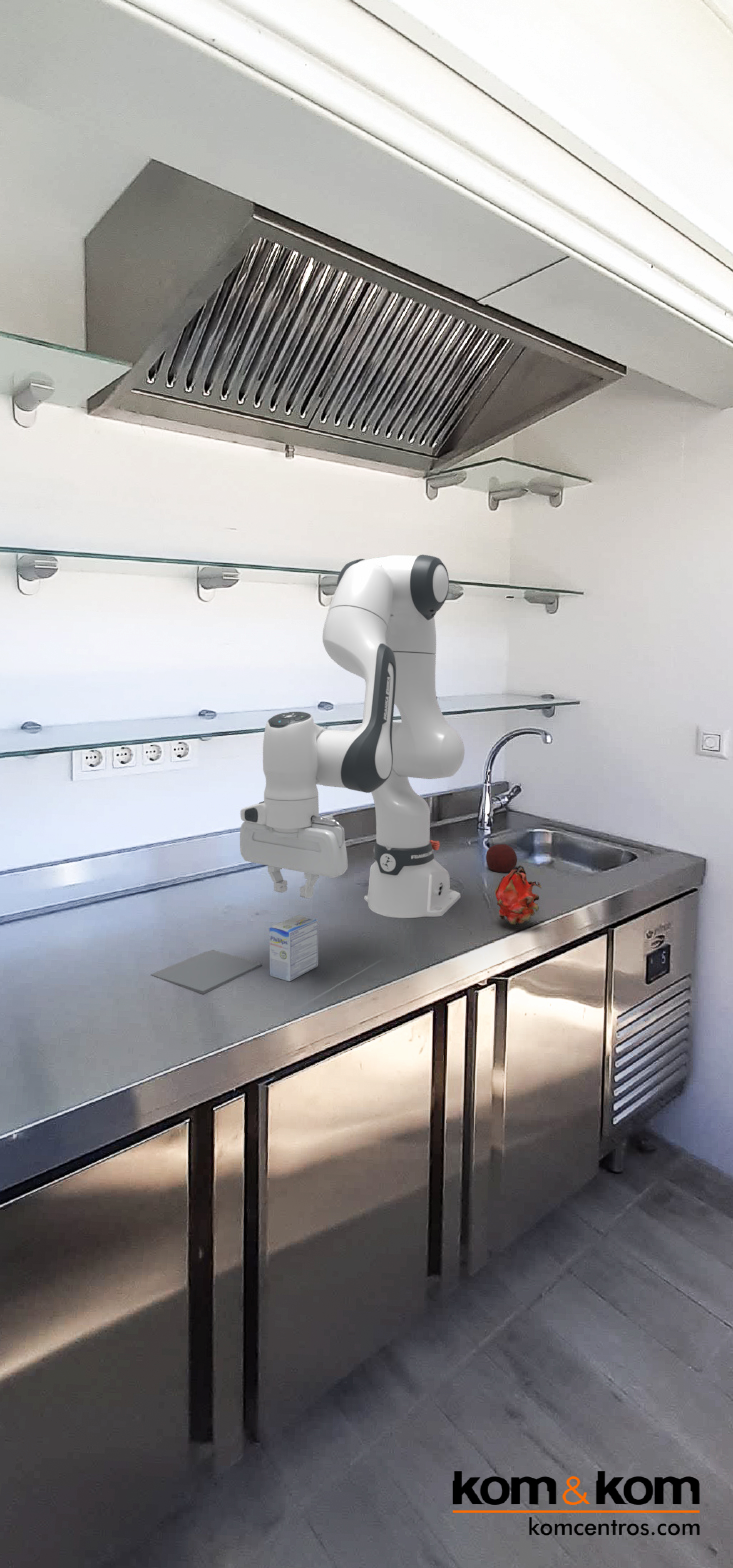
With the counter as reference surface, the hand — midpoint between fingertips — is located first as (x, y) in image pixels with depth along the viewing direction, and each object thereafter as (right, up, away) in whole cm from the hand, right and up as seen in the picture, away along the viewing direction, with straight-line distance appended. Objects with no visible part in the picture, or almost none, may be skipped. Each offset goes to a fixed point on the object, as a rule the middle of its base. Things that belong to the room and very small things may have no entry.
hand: (293, 894), depth 137 cm
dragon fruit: (+41, -10, +26) cm, 50 cm away
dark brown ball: (+45, -4, +65) cm, 79 cm away
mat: (-15, -13, +2) cm, 20 cm away
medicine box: (0, -14, +2) cm, 14 cm away
